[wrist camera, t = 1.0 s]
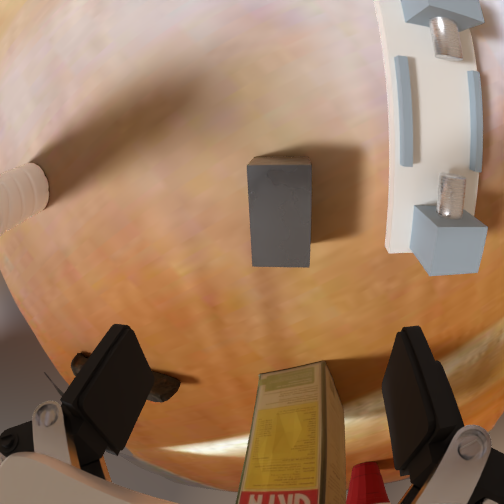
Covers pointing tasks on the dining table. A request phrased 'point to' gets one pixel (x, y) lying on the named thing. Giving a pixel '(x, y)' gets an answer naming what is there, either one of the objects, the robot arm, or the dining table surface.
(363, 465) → the plastic cup
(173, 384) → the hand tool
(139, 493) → the robot arm
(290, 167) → the block
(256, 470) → the food packaging
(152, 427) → the dining table surface
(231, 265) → the dining table surface
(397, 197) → the shaft stand
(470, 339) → the dining table surface
